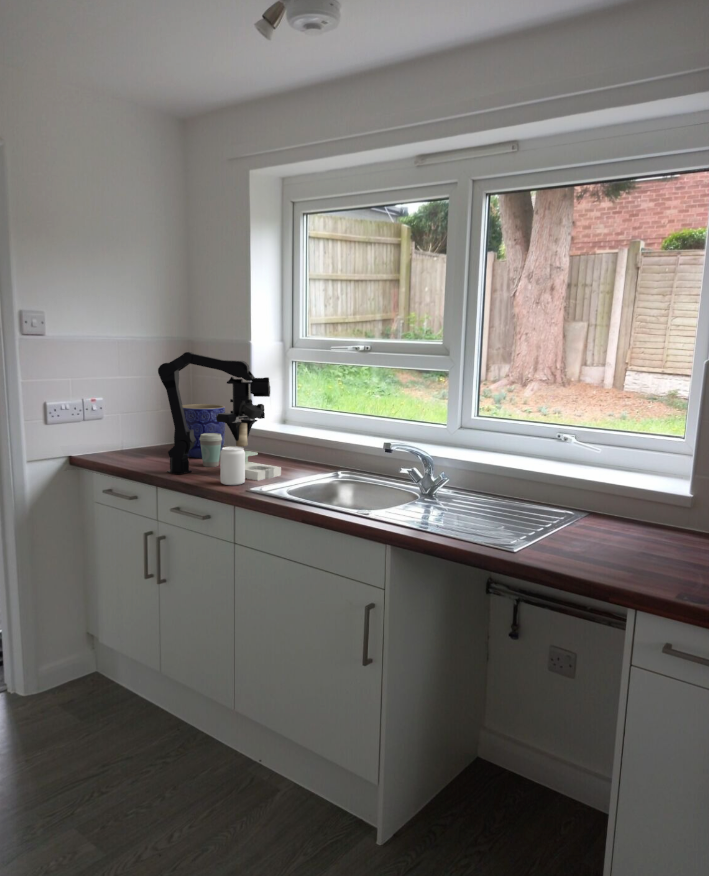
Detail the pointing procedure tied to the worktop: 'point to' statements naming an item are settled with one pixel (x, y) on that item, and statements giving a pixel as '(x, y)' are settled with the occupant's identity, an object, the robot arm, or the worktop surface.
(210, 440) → the coffee cup
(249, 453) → the mint green folder
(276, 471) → the socket
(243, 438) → the peg
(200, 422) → the planter
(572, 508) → the worktop surface
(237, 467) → the beverage can
